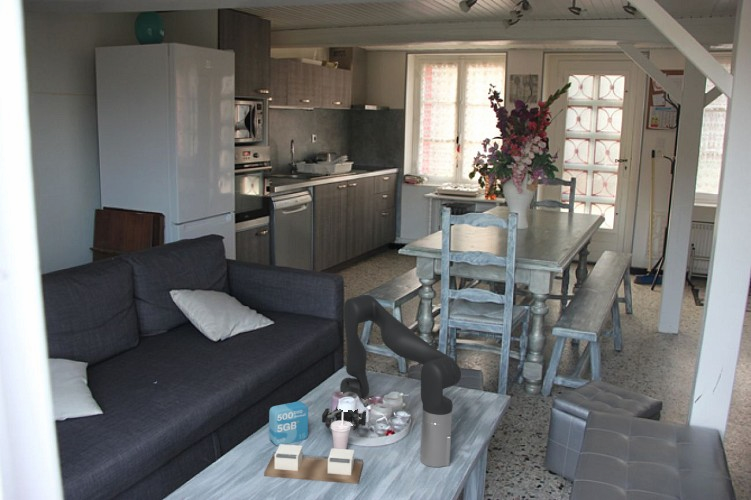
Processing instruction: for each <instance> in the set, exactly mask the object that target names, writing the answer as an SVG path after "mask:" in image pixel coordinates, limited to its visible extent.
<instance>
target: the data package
mask: <svg viewBox="0 0 751 500" xmlns="http://www.w3.org/2000/svg"><path fill="white" fill-rule="evenodd" d="M268 415H269V417H268V419H269V421H268V422H269V423H268V429H269V430H268V433H269V434H268V435H269V436H268V438H269V440H270V441H271V442H272V443H273V445H275V446H277V447H279V445H280V444H284V445H289V444H291V443H297V442H301V441H304V440H306V439H307V438H308V435H309V407H308V406H307V405H306V404H304V402H302V401H301V400H299V401H293V402H287V403H284V404H279V405H274V406H271V407H270V409H269V413H268Z"/></svg>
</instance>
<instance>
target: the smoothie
mask: <svg viewBox="0 0 751 500" xmlns="http://www.w3.org/2000/svg"><path fill="white" fill-rule="evenodd" d="M343 416H344V412H342V421H334V422H333V423H331V425H330V430H331V434H332V443H333V445H332V446H333V448H335V449H347V448H348V442H349V437H350V436H349V435H350V431H351V428H352V424H351V423H350V422H347V421H343ZM347 450H348V449H347Z"/></svg>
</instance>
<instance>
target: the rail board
mask: <svg viewBox="0 0 751 500" xmlns="http://www.w3.org/2000/svg"><path fill="white" fill-rule="evenodd" d="M277 447H278V448H277V449H276V452H273V453H272V456H271V458H270V460H269V462H268V464H267V465H266V468H265V470H264V473H263V474H264V475H263V476H264V477H269V478H270V477H271V478H283V479H284V478H286V479H293V480H294V479H296V480H305V481H306V480H310V481H318V482H319V481H321V482H332V483H343V484H353V485H355V484H356V485H357V484H358V485H359V482H360V478H361V474H362V470H363V465H364V459H363V458H355V449H335V448H334V447H333V448H331V449H330V452H329V456H323V455H315V454H314V455H313V454H312V455H311V454H303V445H293V444H280V445H279V446H277Z"/></svg>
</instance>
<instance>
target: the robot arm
mask: <svg viewBox="0 0 751 500" xmlns="http://www.w3.org/2000/svg"><path fill="white" fill-rule="evenodd" d="M343 320H344V330H345V339H346V340H345V341H346V367H345V371H346V374H347V375H349V376H350V377H346V378H344V379H342V380H341V382H340V385H339V388H340V389H339V391H340V393H341V392H343V396H353V397H355V396H358V397H359V398H360V399H361V398H362V399H361V400H363V399H366V398H367V397H368V396H369V393H370V384H369V382H368V381H369V380H368V378H367V377H368V376H367V370H366V369H367V368H366V366H367V351H366V347H365V345H364V343H363V342H362V341H361V338H360V337H359V332H358V328H359V324H362V323H366V322H372V323H374V324H376V326H377V327H378V328H380V337H381V340H382V343H383V344H384V345H385V346H386V347H387V348H388V349H389V350H390V351H391V352H393V353H394V355H395V354H396V355H397V356H399V357H401V358H403V359H406V360H409V361H412V362H415V363H418V364H420V365H422V367H421V371H420V399H421V402H422V413H421V434H420V448H419V461H420V462H421V464H422V465H425V466H428V467H432V468H441V467H446V466H447V467H449V466H450V462H451V461H450V458H451V442H452V418H453V407H454V405H453V401H452V400H451V398H449V397H448V396H445V395H443V391H444V390H445V389H447V388H450V387H453V386H455V385H457V384H458V383H460V380H461V379H462V371H461V369H460V366H459V364H458V363H457V362H456V361H455V360H454V359H453V358H452V357H450V356H449V355H447V354H446V353H444V352H442V351H440V350H439V349H437V348H435V347H434V346H433V345H431V344H430V343H428V342H427V341H426V340H424V339H423V338H422V337H421V336H419V335H417V334H416V333H415V332H414V331H413V330H412V329H410V328H409V327H408V326H406V325H405V324H404V323H403V322H401V321H400V320H399V319H397V318H396V317H395V316H394V315H393V314H392V313H390V312H389V311H388V310H387V309H386V308H385V307H384V306H383V305H382V304H381V303H380V302H379V300H377V299H376V298H375V297H373V296H371V295H370V294H362V295H358V296H354V297H351V298H347V300H345V302H344V305H343ZM352 377H353V378H352ZM342 412H343V410H341V409H339V410H338V409H337V406H336V407H335V409H334V410H330V408H324V411H323V412H322V415H321V422H322V423H323V424H325V427H326V428H327V429H331V423H333V422H334V421H342ZM343 421H347V422H349V423H350V424H351V425H353V431H357V430H358V429H359V428H360V427H359V426H360V425H361V426H363V427H365V426H366V422H367V411H366V410H365V411H364V410H363V411H362V412H360V413H359V411H358V409H357V410H355V411H354V412H353V411H352V410H348V412H344V416H343Z"/></svg>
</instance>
